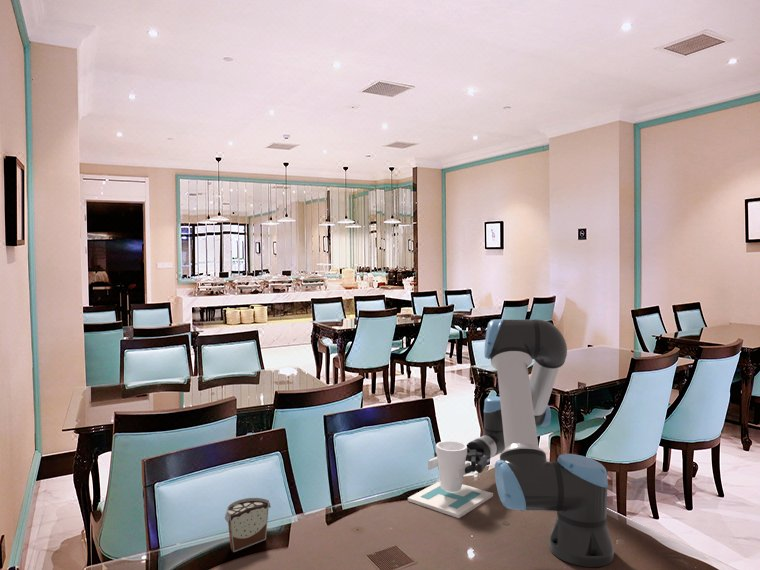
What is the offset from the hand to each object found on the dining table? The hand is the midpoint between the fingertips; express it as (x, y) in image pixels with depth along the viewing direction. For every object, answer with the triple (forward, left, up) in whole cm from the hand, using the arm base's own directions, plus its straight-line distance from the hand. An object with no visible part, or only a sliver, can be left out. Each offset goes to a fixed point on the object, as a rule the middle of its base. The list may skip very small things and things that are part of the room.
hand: (443, 469), depth 167 cm
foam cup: (0, -5, -7) cm, 8 cm away
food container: (+26, +53, -11) cm, 60 cm away
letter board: (0, -4, -10) cm, 11 cm away
